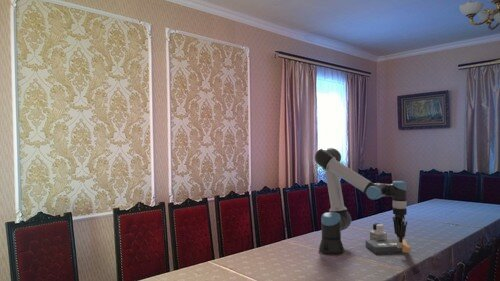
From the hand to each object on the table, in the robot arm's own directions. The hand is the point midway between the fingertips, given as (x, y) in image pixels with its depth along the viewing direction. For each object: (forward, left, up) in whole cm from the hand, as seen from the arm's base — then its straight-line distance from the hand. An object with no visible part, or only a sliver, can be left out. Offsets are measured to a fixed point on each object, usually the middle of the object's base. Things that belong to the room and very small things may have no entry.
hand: (399, 247), depth 203 cm
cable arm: (+4, +3, -1) cm, 5 cm away
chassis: (-2, +14, -6) cm, 16 cm away
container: (0, +28, -6) cm, 28 cm away
